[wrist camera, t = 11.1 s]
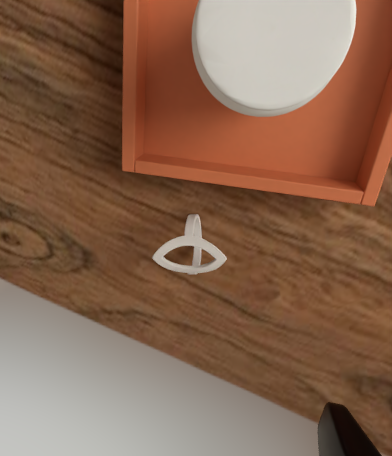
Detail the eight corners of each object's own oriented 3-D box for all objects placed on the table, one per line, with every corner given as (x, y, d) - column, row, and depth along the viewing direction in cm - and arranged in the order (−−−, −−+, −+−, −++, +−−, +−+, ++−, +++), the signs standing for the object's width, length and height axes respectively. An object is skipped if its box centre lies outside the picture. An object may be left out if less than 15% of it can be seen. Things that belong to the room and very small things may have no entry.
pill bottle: (228, -33, 14) (201, -135, 7) (338, 0, 14) (427, -68, 7) (198, 85, 16) (153, 102, 9) (294, 115, 15) (326, 156, 9)
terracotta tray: (134, 160, 18) (121, 171, 16) (142, -136, 13) (124, -168, 11) (361, 192, 17) (374, 207, 15) (459, -117, 12) (496, -148, 10)
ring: (193, 197, 18) (183, 223, 16) (232, 229, 19) (228, 259, 16) (164, 229, 19) (150, 258, 17) (201, 258, 20) (193, 291, 17)
